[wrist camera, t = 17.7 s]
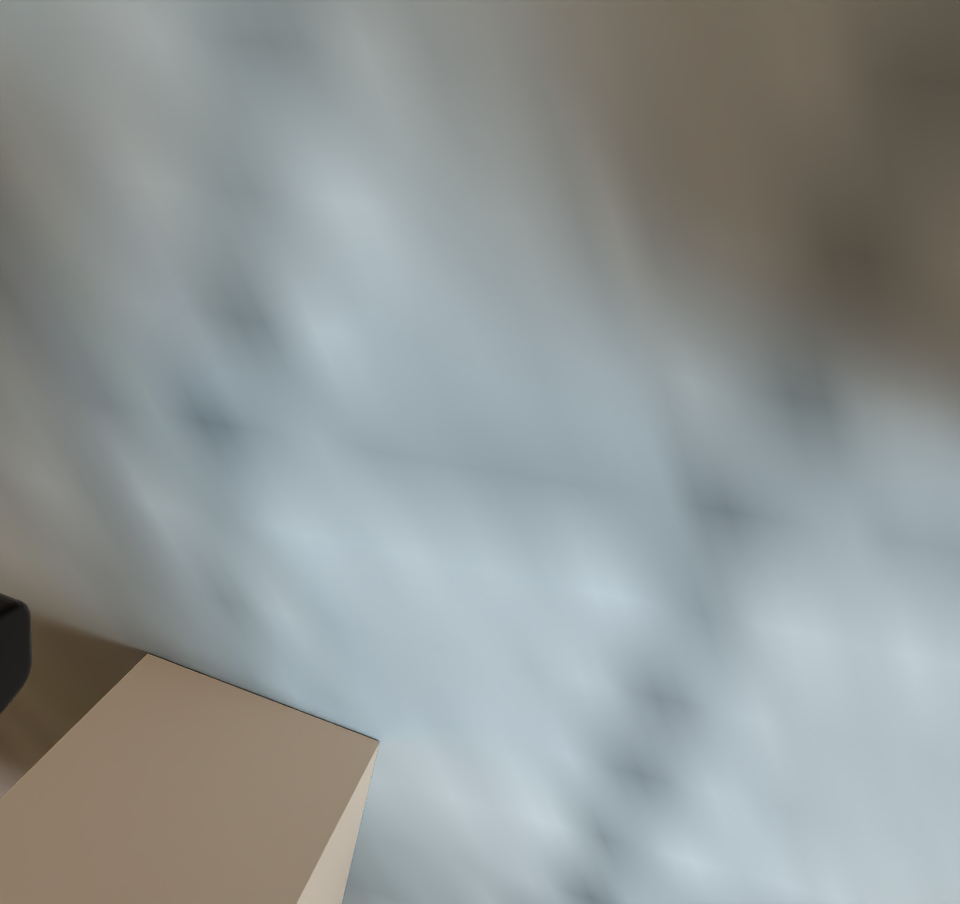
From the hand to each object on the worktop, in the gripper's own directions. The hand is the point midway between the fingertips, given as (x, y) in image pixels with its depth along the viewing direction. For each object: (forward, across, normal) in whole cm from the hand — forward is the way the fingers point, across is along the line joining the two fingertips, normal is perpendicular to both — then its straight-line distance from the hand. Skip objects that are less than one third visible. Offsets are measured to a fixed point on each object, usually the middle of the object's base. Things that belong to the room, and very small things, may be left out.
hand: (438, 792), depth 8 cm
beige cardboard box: (+12, +7, +16) cm, 21 cm away
